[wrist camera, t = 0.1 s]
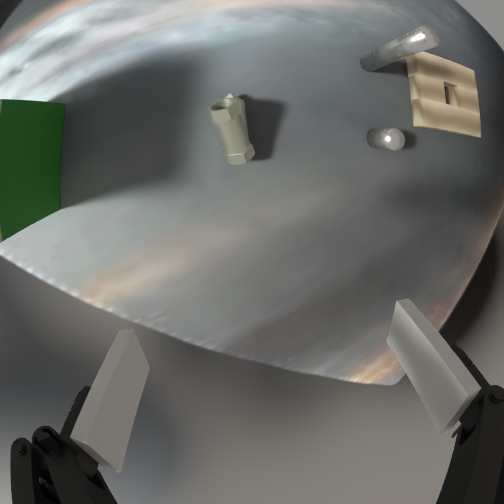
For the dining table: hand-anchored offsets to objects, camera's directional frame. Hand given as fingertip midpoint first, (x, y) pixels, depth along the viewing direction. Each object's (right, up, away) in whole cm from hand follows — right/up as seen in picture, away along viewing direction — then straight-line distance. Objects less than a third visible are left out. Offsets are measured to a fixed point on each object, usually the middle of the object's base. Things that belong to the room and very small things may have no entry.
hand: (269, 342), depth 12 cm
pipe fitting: (-3, +23, +21) cm, 31 cm away
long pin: (+16, +32, +18) cm, 40 cm away
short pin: (+17, +21, +22) cm, 35 cm away
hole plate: (+32, +31, +19) cm, 48 cm away
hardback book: (-35, +20, +21) cm, 45 cm away
